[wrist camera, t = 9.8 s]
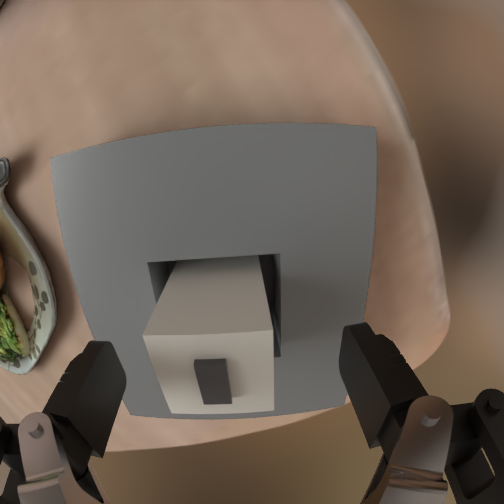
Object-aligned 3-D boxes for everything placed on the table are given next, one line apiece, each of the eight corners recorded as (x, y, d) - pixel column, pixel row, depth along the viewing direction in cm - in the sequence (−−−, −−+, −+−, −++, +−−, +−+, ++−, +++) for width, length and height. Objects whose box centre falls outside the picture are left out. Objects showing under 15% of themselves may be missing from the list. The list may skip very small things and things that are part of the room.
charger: (180, 254, 14) (139, 341, 8) (256, 249, 15) (274, 335, 8) (191, 318, 16) (170, 419, 9) (260, 314, 16) (274, 416, 9)
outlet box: (85, 153, 13) (50, 158, 9) (345, 130, 13) (376, 127, 10) (141, 380, 18) (130, 415, 15) (330, 370, 19) (343, 405, 15)
